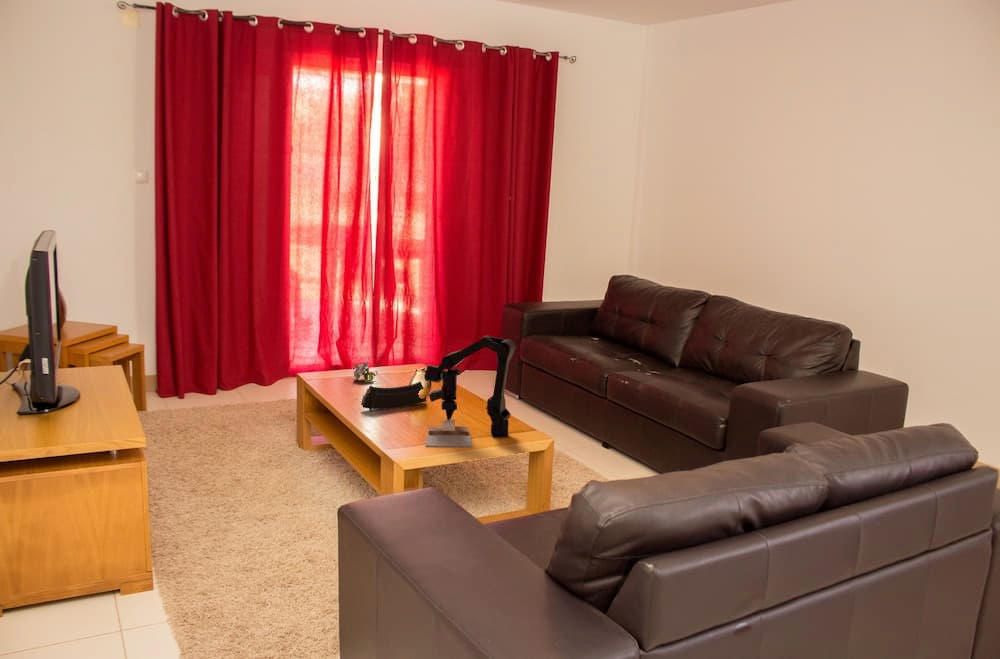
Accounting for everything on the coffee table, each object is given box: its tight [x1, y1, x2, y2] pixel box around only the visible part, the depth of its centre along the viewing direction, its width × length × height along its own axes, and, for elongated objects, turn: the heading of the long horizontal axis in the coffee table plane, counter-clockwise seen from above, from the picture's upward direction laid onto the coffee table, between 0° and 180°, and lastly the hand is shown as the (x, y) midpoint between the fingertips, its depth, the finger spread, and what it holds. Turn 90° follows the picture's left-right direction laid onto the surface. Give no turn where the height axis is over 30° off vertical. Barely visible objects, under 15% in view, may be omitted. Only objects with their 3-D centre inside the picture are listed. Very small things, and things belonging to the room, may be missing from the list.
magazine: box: [360, 381, 427, 411], centre depth 364 cm, size 17×3×30 cm
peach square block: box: [441, 419, 456, 431], centre depth 333 cm, size 5×5×3 cm
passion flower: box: [352, 360, 378, 384], centre depth 405 cm, size 11×11×12 cm
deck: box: [428, 425, 469, 435], centre depth 333 cm, size 16×6×2 cm, turn 94°
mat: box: [425, 434, 473, 448], centre depth 324 cm, size 18×13×1 cm
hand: (448, 420), depth 341 cm, fingers closed
